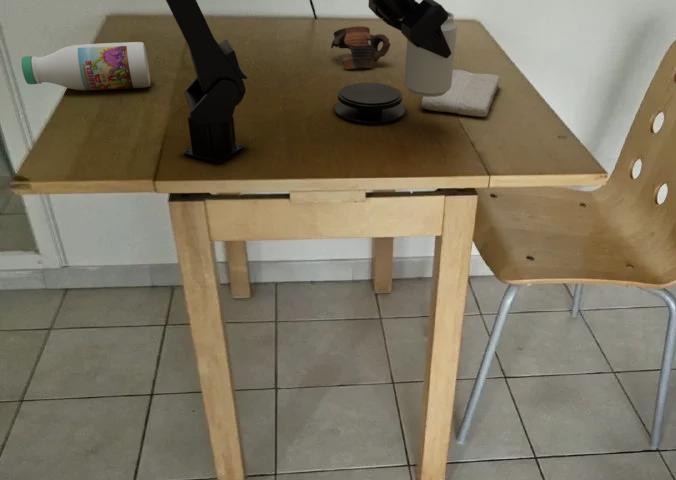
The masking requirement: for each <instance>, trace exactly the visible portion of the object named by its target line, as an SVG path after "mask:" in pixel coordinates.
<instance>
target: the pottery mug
mask: <svg viewBox="0 0 676 480" xmlns="http://www.w3.org/2000/svg"><path fill="white" fill-rule="evenodd" d="M333 37H334V38H333V40H332V42H331V45H330V48H331V49H334V48H339V49H347V50H350V53H351V55H350V56H347V57H344V58H343V59H342V62H343V66H344V69H345V70H346V71H349V70H353V69H373V63H378V62H379V59H381V58H382V57H385V56H386V55H387V54H388V51H390V47H391V43H390V39H389V37H388V36H387V35H385V34H381V33H379V34H371V29H370V28H369V27H367V26H363V25H361V26H359V25H357V26H350V27H344V28H343V27H342V28H340V29H338V30H336V31H335V30H334V32H333ZM369 41H370V44H369ZM380 43H382V46H381V48H380V49H379V45H380Z"/></svg>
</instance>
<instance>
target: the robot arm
mask: <svg viewBox="0 0 676 480" xmlns="http://www.w3.org/2000/svg"><path fill="white" fill-rule="evenodd" d="M165 2H166V4H167V5H168V7H169V9H170V12H171V13H172V16H173V18H174V20H175V22H176V24H177V26H178V28H179V29H180V32H181V33H182V35H183V36H182V37H184V39H185V42H186V44H187V47H188V51H189V54H190V57H191V61H192V64H193V68H194V72H195V75H196V77H195V79H194V80H193V81H192V82H191V83H190V84H189V85H188V86H187V88H185V90H184V92H183V94H184V96H185V99H186V102H187V105H188V107H189V110H190V111H189V116H187V124H188V130H189V137H190V138H189V139H190V146H191V147H189V148H188V149H185V150H184V151H183V156H185V157H188V158H193V159H196V160H200V161H204V162H209V163H212V164H217V165H220V164H223V163H224V162H226V161H227V160H228V159H231V158H232V157H233V156H235V155H237V154H238V153H240V152H241V151H243V150H244V149H245V147H244V144H240V143H236V133H235V132H236V131H235V120H234V114H235V113H234V112H235V109H236V106H238V105H239V104H240V103H241V102H242V100H243V99H244V96H245V94H246V85H245V82H244V80H247V79H248V77H247V75H246V73H245V71H244V70H243V68H242V66H241V65H240V63H239V62H238V57H237V54H236V51H235V49H234V48H233V47H232V44H231V43H230V41H229V40H228V38H226V39H224V40H223V41H222V42H219V41H218V40H217V39H216V38H215V36H214V34H213V33H212V31H211V28H210V26H209V24H208V23H207V20H206V18H205V16H204V14H203V12H202V9H201V7H200V6H199V4H198V1H197V0H165ZM368 8H369V9H370V11H372V13H373V14H374V15H375V16H376V17H378V18H379V19H380V20H382V21H383V22H384V23H385V24H386V25H388V26H390V27H392V28H394V29H395V30H398V31H400V33H401V34H402V35H403V36H404V38H405V39H406V40H407V39H408V40H409V41H410V42H411V43H412V44H413V45H415V46H416V47H417V48H419V47H420V48H423V49H425V50H428V51H430V52H432V53H435V54H437V55H440V56H442V57H444V58H448V57H449V56H450V55H451V50H450V48H449V46H448V44H447V41H446V39H445V37H444V34H443V32H442V29H441V25H442V24H443V23H444V22H445V21H446V20H447V19H448V16H449V14H448V13H447V12H446V11H447V10H446V9H445V8H444V6H443V5H442V4H440V3H439V2H437V1H436V0H421V1H420V3H419V2H417V1H416V0H368Z"/></svg>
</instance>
